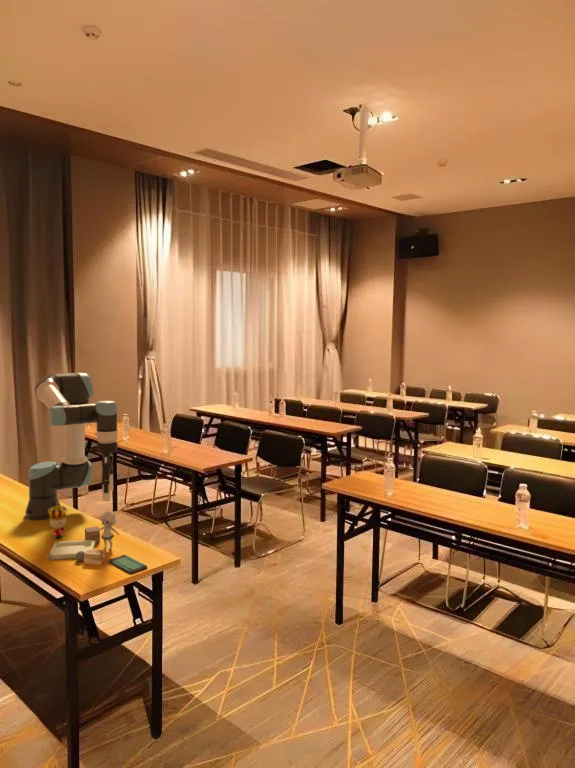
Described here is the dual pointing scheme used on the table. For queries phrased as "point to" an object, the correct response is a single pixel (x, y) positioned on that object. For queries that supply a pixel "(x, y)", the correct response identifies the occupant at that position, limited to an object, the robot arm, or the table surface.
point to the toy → (57, 519)
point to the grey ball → (80, 556)
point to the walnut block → (92, 534)
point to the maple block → (94, 556)
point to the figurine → (108, 527)
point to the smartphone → (127, 564)
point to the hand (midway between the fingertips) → (108, 495)
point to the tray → (70, 548)
